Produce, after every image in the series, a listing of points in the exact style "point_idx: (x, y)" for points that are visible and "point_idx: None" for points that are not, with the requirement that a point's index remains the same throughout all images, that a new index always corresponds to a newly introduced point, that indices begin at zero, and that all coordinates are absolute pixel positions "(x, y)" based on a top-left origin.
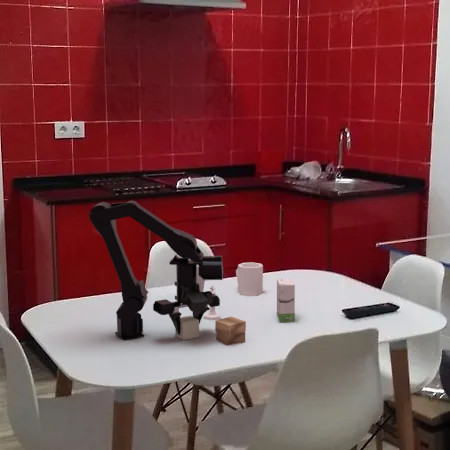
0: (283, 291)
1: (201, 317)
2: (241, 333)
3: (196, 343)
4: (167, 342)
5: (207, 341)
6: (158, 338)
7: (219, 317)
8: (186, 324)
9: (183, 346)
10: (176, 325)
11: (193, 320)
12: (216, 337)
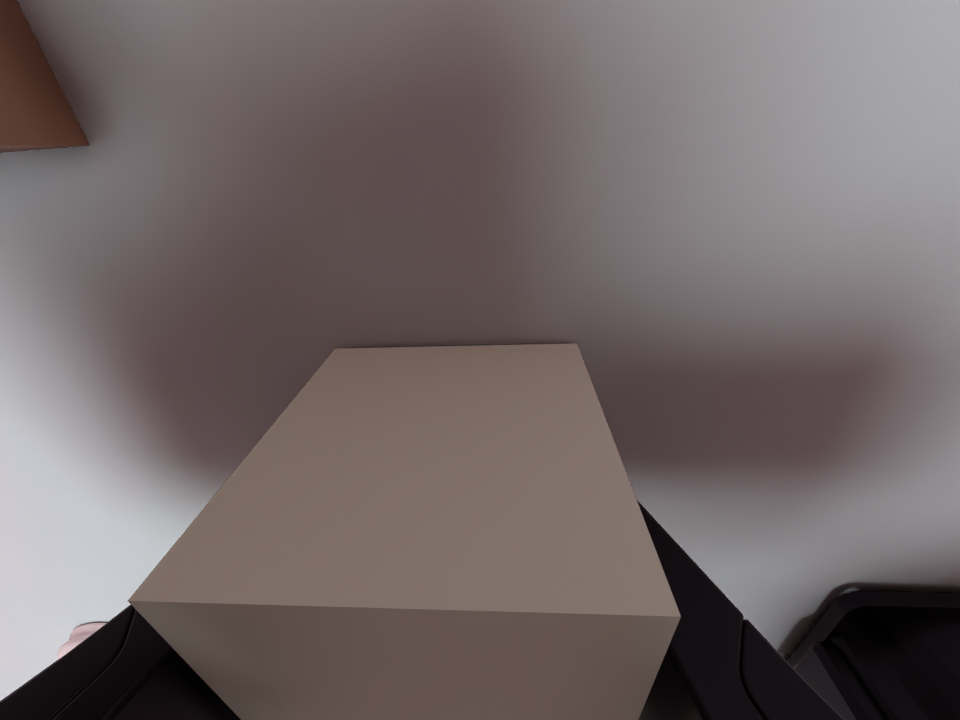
0: None
1: (42, 679)
2: None
3: (470, 93)
4: (807, 364)
5: (250, 101)
6: (770, 508)
7: (72, 636)
8: (552, 543)
9: (775, 41)
10: (709, 603)
11: (298, 631)
12: (38, 122)
